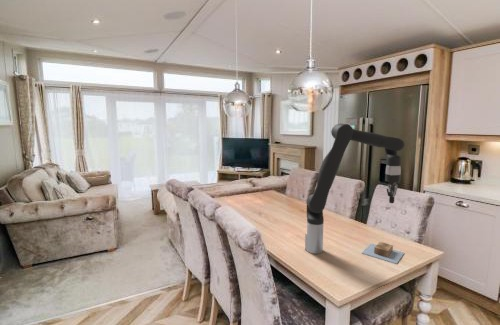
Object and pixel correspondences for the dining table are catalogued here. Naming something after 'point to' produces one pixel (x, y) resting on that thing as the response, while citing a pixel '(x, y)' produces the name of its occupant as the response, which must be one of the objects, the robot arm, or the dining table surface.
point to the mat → (392, 258)
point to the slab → (383, 249)
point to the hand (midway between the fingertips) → (391, 202)
